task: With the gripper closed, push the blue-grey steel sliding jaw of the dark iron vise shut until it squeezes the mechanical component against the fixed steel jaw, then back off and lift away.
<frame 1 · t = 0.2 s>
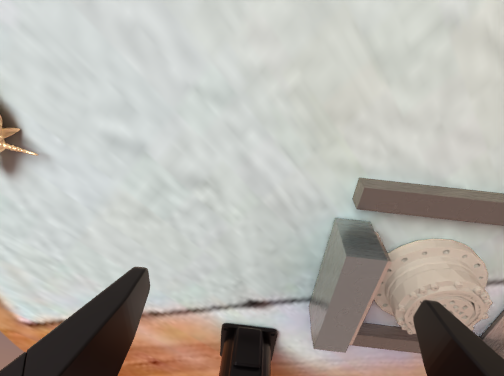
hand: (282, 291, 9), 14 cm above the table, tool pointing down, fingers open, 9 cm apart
vise: (433, 278, 28), on the table
sliding jaw: (343, 288, 26), point 2 cm above the table, slide at 0.0 cm
mechanical component: (420, 273, 28), on the table
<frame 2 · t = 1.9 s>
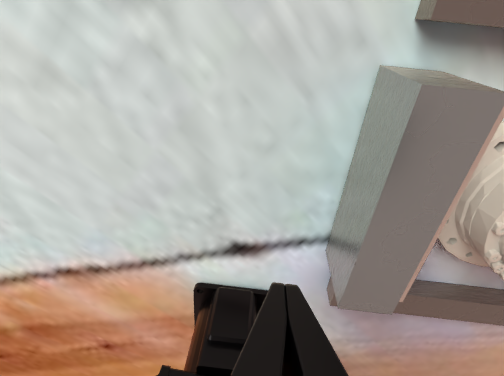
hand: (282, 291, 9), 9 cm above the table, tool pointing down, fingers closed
sliding jaw: (392, 199, 15), point 3 cm above the table, slide at 0.0 cm
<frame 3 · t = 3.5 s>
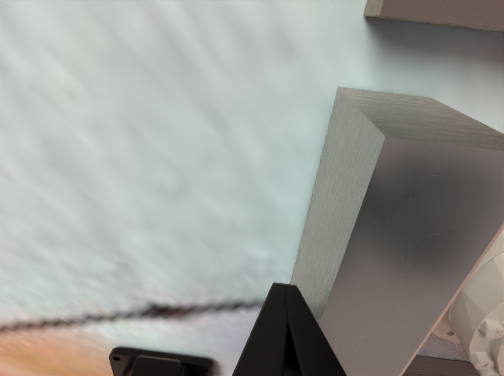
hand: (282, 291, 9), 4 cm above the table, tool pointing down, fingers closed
sliding jaw: (358, 278, 10), point 2 cm above the table, slide at 0.7 cm, touching gripper
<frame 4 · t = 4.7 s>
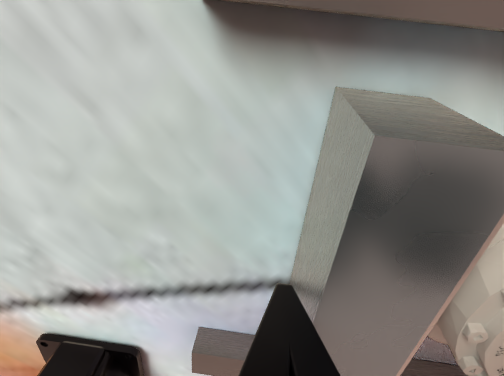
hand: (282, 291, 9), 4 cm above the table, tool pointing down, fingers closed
vise: (429, 246, 12), on the table
sliding jaw: (355, 279, 10), point 2 cm above the table, slide at 5.5 cm, touching gripper, mechanical component
mechanical component: (503, 245, 12), on the table, touching sliding jaw, vise
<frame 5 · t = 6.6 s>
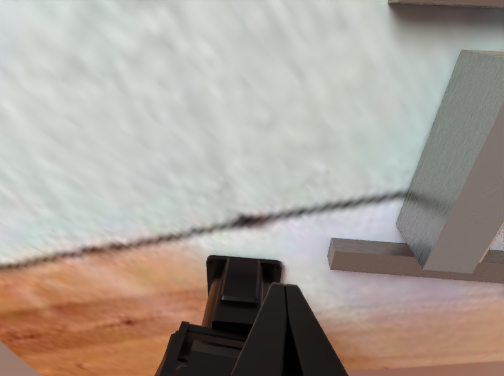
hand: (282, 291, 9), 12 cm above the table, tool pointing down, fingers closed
sliding jaw: (472, 169, 17), point 2 cm above the table, slide at 5.5 cm
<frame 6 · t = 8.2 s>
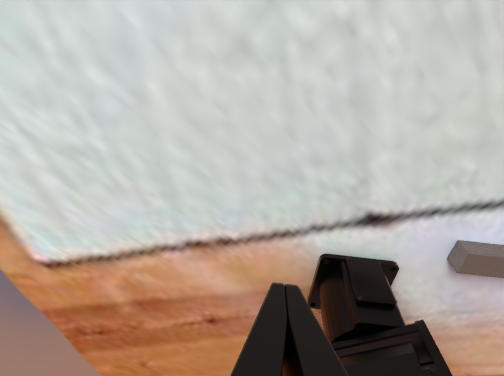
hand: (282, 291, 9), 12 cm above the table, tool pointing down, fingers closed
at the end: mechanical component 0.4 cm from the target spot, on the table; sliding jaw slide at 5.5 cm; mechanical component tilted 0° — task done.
